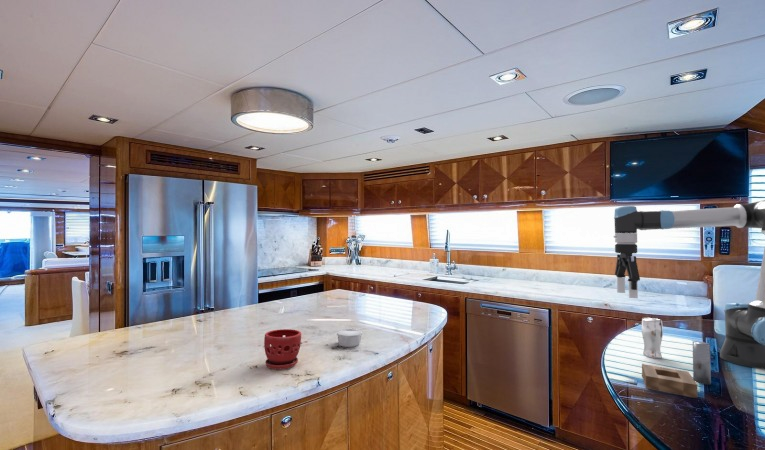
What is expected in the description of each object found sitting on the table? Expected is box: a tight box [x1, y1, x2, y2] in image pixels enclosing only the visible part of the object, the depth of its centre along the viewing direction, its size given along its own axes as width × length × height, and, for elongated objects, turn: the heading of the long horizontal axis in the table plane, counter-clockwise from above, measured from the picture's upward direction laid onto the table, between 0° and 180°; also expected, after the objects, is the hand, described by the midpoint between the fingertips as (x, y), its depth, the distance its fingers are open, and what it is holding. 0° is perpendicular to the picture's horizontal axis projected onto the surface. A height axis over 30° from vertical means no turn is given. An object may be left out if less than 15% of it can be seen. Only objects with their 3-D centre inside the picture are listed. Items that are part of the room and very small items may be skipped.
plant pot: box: [263, 328, 302, 371], centre depth 128 cm, size 13×13×12 cm
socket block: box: [641, 363, 698, 399], centre depth 114 cm, size 12×12×4 cm
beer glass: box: [641, 317, 664, 359], centre depth 143 cm, size 7×7×15 cm
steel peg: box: [692, 340, 712, 386], centre depth 118 cm, size 4×4×13 cm
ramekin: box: [336, 328, 363, 348], centre depth 154 cm, size 11×11×5 cm
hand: (626, 295), depth 142 cm, fingers open, 13 cm apart
